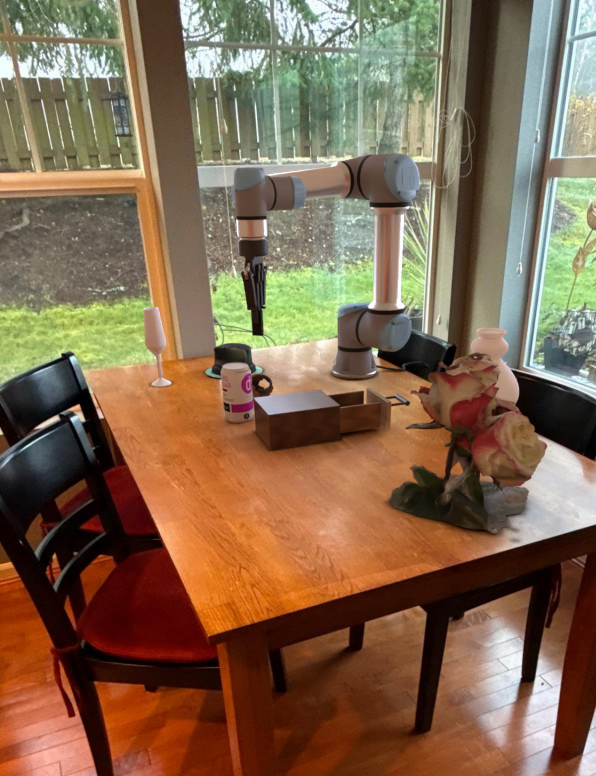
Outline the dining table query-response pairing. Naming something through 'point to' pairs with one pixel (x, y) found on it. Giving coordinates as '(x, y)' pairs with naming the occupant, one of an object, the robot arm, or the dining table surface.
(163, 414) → the dining table surface
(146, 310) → the champagne flute
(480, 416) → the rose bouquet
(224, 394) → the supplement can
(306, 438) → the cabinet
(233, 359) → the dark green rounded hat
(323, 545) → the dining table surface
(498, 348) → the decorative vase
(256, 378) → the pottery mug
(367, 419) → the drawer
